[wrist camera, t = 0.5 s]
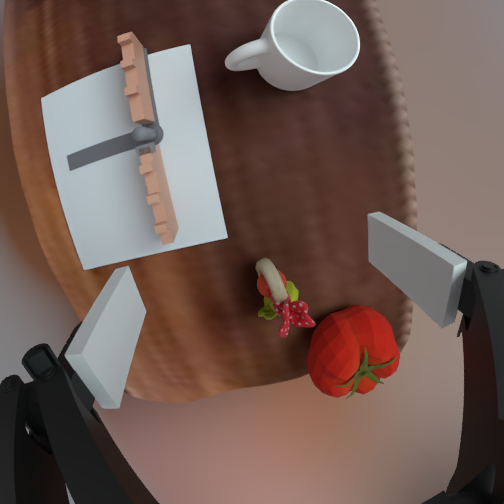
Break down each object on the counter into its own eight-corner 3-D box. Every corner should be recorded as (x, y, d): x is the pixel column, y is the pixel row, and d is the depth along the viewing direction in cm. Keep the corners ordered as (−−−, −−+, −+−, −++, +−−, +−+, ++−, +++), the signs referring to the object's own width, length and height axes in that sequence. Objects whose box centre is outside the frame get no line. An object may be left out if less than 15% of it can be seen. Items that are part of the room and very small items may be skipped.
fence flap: (146, 146, 29) (131, 147, 23) (161, 141, 29) (149, 142, 23) (166, 230, 33) (157, 249, 27) (181, 227, 33) (175, 246, 27)
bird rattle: (237, 269, 39) (264, 327, 39) (227, 276, 28) (266, 355, 28) (279, 249, 39) (305, 309, 39) (286, 249, 28) (322, 330, 28)
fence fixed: (133, 50, 25) (116, 31, 18) (144, 47, 25) (129, 27, 18) (148, 142, 29) (132, 142, 23) (160, 139, 30) (146, 138, 23)
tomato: (292, 365, 45) (312, 419, 34) (308, 292, 40) (339, 345, 29) (361, 357, 47) (389, 403, 36) (384, 290, 42) (426, 332, 31)
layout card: (42, 92, 24) (40, 91, 24) (189, 38, 25) (188, 37, 25) (85, 269, 34) (83, 270, 33) (227, 236, 35) (227, 238, 35)
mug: (232, 106, 29) (241, 90, 20) (213, 44, 26) (214, 8, 17) (328, 86, 29) (371, 71, 20) (309, 28, 26) (343, -4, 17)
